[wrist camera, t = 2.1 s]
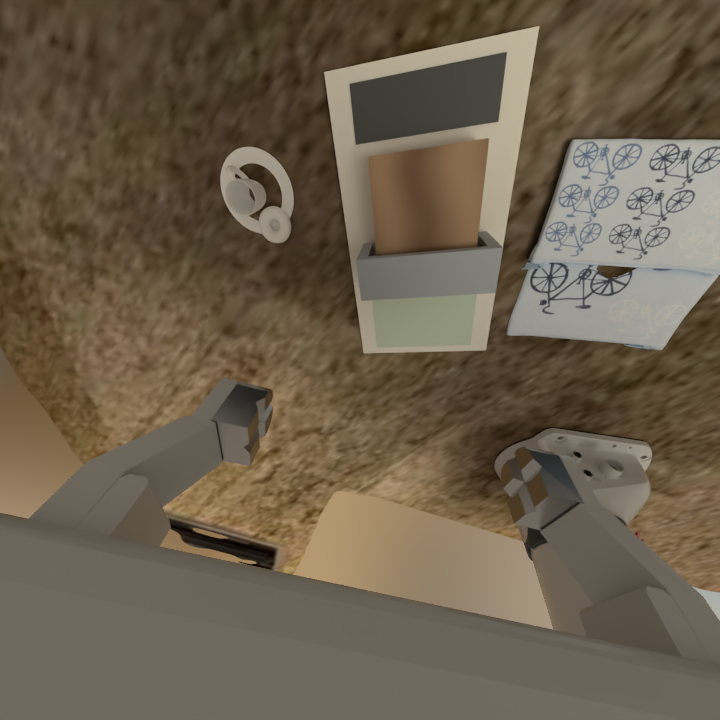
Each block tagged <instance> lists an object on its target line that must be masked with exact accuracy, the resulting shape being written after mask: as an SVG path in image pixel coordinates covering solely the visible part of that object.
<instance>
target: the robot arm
mask: <svg viewBox="0 0 720 720" xmlns="http://www.w3.org/2000/svg"><path fill="white" fill-rule="evenodd" d="M272 398H273V390H271V389H267V388H264V387H260V386H256V385H252V384H248V383H244V382H239V381H235V380H231V379H227V378H224V379H222V380H220V381H219V382H218V383H217V385H216V386H215V387H214V388H213V390H212V391H211V392H210V393H209V395H208V396H207V397H206V398H205V400H204V401H203V402H202V403H201V405H200V406H199V407H198V408H197V410H196V411H195V412H194V413H193V415H192V416H184V417H182V418H179V419H177V420H175V421H173V422H171V423H169V424H167V425H165V426H162V427H160V428H158V429H156V430H154V431H152V432H150V433H148V434H145V435H143V436H141V437H139V438H137V439H135V440H133V441H130V442H128V443H126V444H124V445H122V446H120V447H118V448H116V449H113V450H111V451H109V452H107V453H105V454H103V455H101V456H99V457H96V458H94V459H92V460H90V461H88V462H86V463H85V464H84V465H83V466H82V467H81V468H80V469H79V470H78V471H77V472H76V473H75V474H74V475H73V476H72V477H71V478H70V479H69V480H68V481H67V482H66V483H65V484H63V485H62V486H61V488H59V489H58V490H57V491H56V492H55V493H54V494H53V495H52V496H51V498H49V499H48V500H47V501H46V502H45V503H44V504H43V505H42V506H41V507H40V508H39V509H38V510H37V511H36V512H35V513H34V514H33V515H32V516H31V517H30V518H29V519H27V518H22V517H17V516H13V515H8V514H3V513H0V720H720V621H719V619H718V618H717V617H716V615H715V614H714V612H713V611H712V609H711V608H710V607H709V605H708V603H707V602H706V600H705V599H704V598H703V596H701V594H699V593H698V592H697V591H696V590H695V589H694V588H693V587H692V586H691V585H690V584H689V583H687V582H686V581H685V580H684V579H683V578H682V577H681V576H680V575H679V574H678V573H677V572H675V571H674V570H673V569H672V568H671V567H670V566H669V565H668V564H667V563H666V562H665V561H663V560H662V559H661V558H660V557H659V556H658V555H657V554H656V553H655V552H654V551H653V550H651V549H650V548H649V547H648V546H647V545H646V544H645V543H644V542H643V541H644V540H643V539H639V536H640V533H639V532H636V533H635V534H634V533H633V532H632V531H631V530H630V529H629V528H627V525H628V524H629V522H630V521H631V520H632V519H633V518H634V517H635V516H636V514H637V513H638V512H639V511H640V509H641V508H642V507H643V506H644V504H645V503H646V501H647V500H648V498H649V495H650V490H651V487H650V482H649V479H648V477H647V475H646V473H645V471H646V469H647V468H648V466H649V464H650V462H651V459H652V451H651V448H650V447H649V445H648V444H647V442H644V441H638V440H632V439H625V438H618V437H611V436H605V435H598V434H591V433H584V432H577V431H571V430H564V429H557V428H549V429H546V430H544V431H542V432H541V433H539V434H538V435H536V436H535V437H533V438H531V439H528V440H525V441H522V442H519V443H517V444H514V445H512V446H510V447H508V448H507V449H505V450H504V451H503V452H502V453H501V454H500V455H499V456H498V457H497V459H496V461H495V464H494V468H495V472H496V473H497V475H498V476H499V478H500V479H501V482H502V486H503V489H504V490H505V491H506V492H507V493H508V495H509V496H510V497H509V500H508V506H509V509H510V512H511V515H512V519H513V522H514V524H517V525H518V528H519V531H520V535H521V538H522V541H523V543H524V545H525V548H526V551H527V554H528V556H529V558H530V559H531V560H532V561H533V563H534V566H535V570H536V573H537V576H538V580H539V583H540V586H541V589H542V593H543V596H544V599H545V602H546V606H547V609H548V612H549V615H550V619H551V622H552V626H553V629H554V630H552V629H547V628H542V627H538V626H532V625H528V624H523V623H518V622H514V621H509V620H504V619H500V618H495V617H490V616H486V615H481V614H476V613H471V612H467V611H462V610H457V609H452V608H448V607H443V606H438V605H434V604H428V603H424V602H419V601H415V600H410V599H405V598H401V597H396V596H391V595H386V594H382V593H377V592H372V591H367V590H363V589H357V588H353V587H349V586H344V585H339V584H334V583H330V582H325V581H320V580H315V579H311V578H306V577H301V576H296V575H292V574H287V573H282V572H278V571H273V570H268V569H263V568H259V567H254V566H249V565H244V564H240V563H235V562H230V561H226V560H221V559H216V558H211V557H206V556H202V555H197V554H192V553H187V552H183V551H178V550H174V549H169V548H164V547H159V546H160V545H161V543H162V541H163V540H164V538H165V536H166V535H167V533H168V531H169V530H170V528H171V527H170V522H169V520H168V518H167V516H166V514H165V512H164V510H163V508H162V507H163V506H165V505H166V504H167V503H169V502H170V501H171V500H173V499H174V498H175V497H177V496H178V495H179V494H181V493H182V492H183V491H185V490H186V489H187V488H189V487H190V486H191V485H193V484H194V483H195V482H197V481H198V480H199V479H201V478H202V477H203V476H205V475H206V474H207V473H209V472H210V471H211V470H213V469H214V468H215V467H217V466H218V465H219V464H221V463H222V460H223V461H228V462H233V463H238V464H243V465H249V466H251V464H252V462H253V460H254V458H255V456H256V454H257V452H258V449H259V447H260V445H259V439H260V438H262V437H264V436H265V435H266V433H267V431H268V428H269V425H270V422H271V419H272V413H273V407H272V406H271V405H270V402H271V400H272Z"/></svg>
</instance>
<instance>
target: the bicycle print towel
mask: <svg viewBox="0 0 720 720" xmlns="http://www.w3.org/2000/svg"><path fill="white" fill-rule="evenodd" d="M528 260H529V261H530V262H527V263H526V265H525V267H524V268H522V269H528V271H527V274H526V276H525V279H524V282H523V284H522V287H521V290H520V293H519V296H518V298H517V301H516V303H515V306H514V308H513V311H512V314H511V317H510V319H509V322H508V326H507V331H506V334H507V335H510V336H519V335H526V336H542V337H552V338H564V339H576V340H588V341H600V342H611V343H622V344H624V345H625V346H629V347H637V348H643V349H656V350H662V349H663V347H665V346H666V344H667V343H668V341H669V339H670V338H671V336H672V335H673V333H674V332H675V330H676V329H677V327H678V326H679V325H680V323H681V321H682V320H683V319H684V318H685V316H686V315H687V314H688V312H689V311H690V310H691V309H692V308H693V306H694V305H695V304H696V303H697V302H698V300H699V299H700V298H701V297H702V295H703V294H704V293H705V292H706V290H707V289H708V288H709V287H710V286H711V284H712V283H713V282H714V281H715V279H716V278H717V277H718V276H719V274H720V140H710V139H700V140H698V139H686V140H668V139H573V140H572V141H571V143H570V145H569V147H568V150H567V152H566V155H565V159H564V163H563V167H562V170H561V173H560V176H559V179H558V182H557V186H556V189H555V192H554V195H553V198H552V201H551V204H550V207H549V210H548V213H547V216H546V219H545V222H544V225H543V228H542V231H541V234H540V237H539V240H538V243H537V244H536V246H535V247H534V249H533V251H532V253H531V255H530V258H529V259H528ZM599 265H606V266H620V267H638V268H637V269H635V270H633V271H632V272H630V273H629V272H628V273H626V274H624V275H622V276H618V277H614V278H612V277H611V278H606V277H604V275H603V274H600V272H599V271H598V270H597V267H598V266H599ZM626 344H629V345H626Z"/></svg>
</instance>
